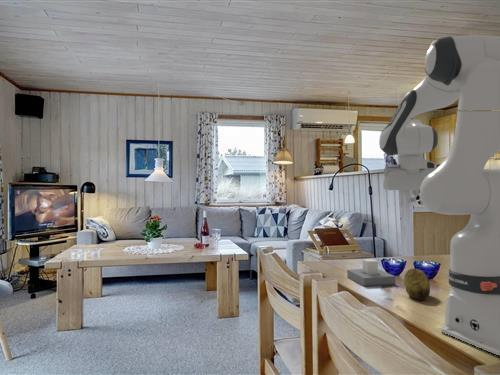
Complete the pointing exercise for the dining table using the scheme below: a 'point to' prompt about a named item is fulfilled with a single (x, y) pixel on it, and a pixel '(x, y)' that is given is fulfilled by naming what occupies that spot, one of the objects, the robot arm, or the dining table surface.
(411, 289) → the potato
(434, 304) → the dining table surface
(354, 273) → the socket
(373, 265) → the plug
